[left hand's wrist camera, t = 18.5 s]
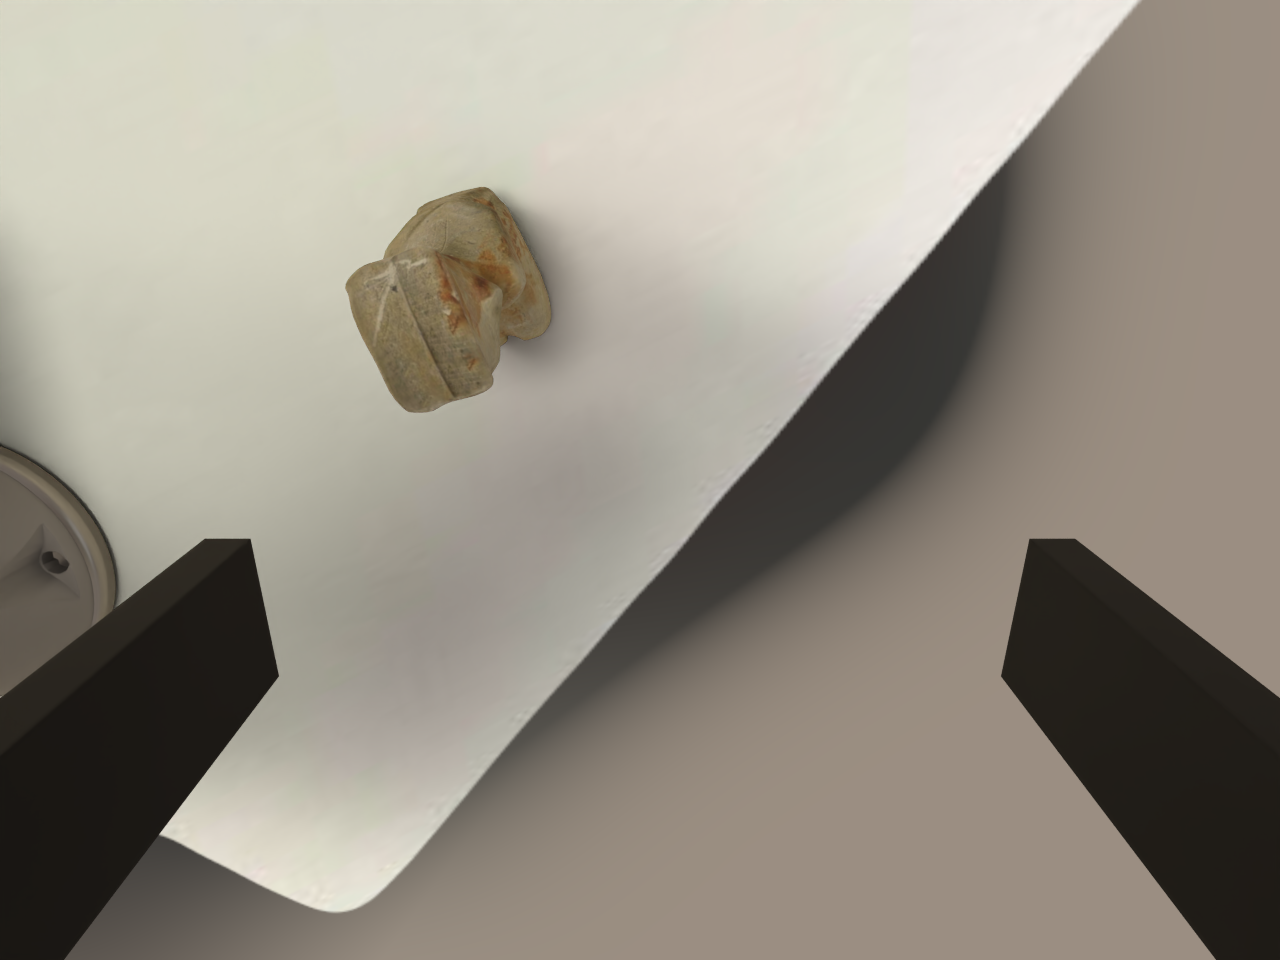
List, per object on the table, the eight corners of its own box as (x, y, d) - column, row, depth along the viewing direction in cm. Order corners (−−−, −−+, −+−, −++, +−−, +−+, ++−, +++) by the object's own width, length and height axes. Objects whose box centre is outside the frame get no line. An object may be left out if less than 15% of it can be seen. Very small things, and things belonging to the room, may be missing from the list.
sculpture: (462, 353, 38) (358, 442, 24) (413, 208, 36) (266, 213, 22) (570, 325, 38) (529, 400, 23) (529, 177, 35) (455, 161, 21)
